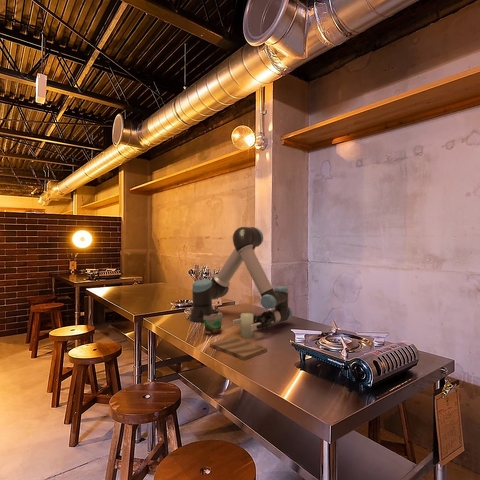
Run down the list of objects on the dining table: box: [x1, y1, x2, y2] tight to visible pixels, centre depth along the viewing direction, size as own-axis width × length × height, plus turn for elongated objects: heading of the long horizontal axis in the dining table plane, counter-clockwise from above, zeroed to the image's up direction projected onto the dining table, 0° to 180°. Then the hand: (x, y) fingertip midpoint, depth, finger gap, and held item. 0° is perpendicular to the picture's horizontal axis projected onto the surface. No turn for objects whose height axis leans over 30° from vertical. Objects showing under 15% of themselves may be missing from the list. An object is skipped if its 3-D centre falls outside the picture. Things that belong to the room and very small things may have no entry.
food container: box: [203, 310, 224, 336], centre depth 164 cm, size 12×6×10 cm, turn 143°
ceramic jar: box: [240, 312, 255, 339], centre depth 159 cm, size 6×6×11 cm
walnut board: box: [209, 336, 268, 361], centre depth 141 cm, size 22×14×2 cm, turn 44°
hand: (241, 325), depth 156 cm, fingers open, 12 cm apart
